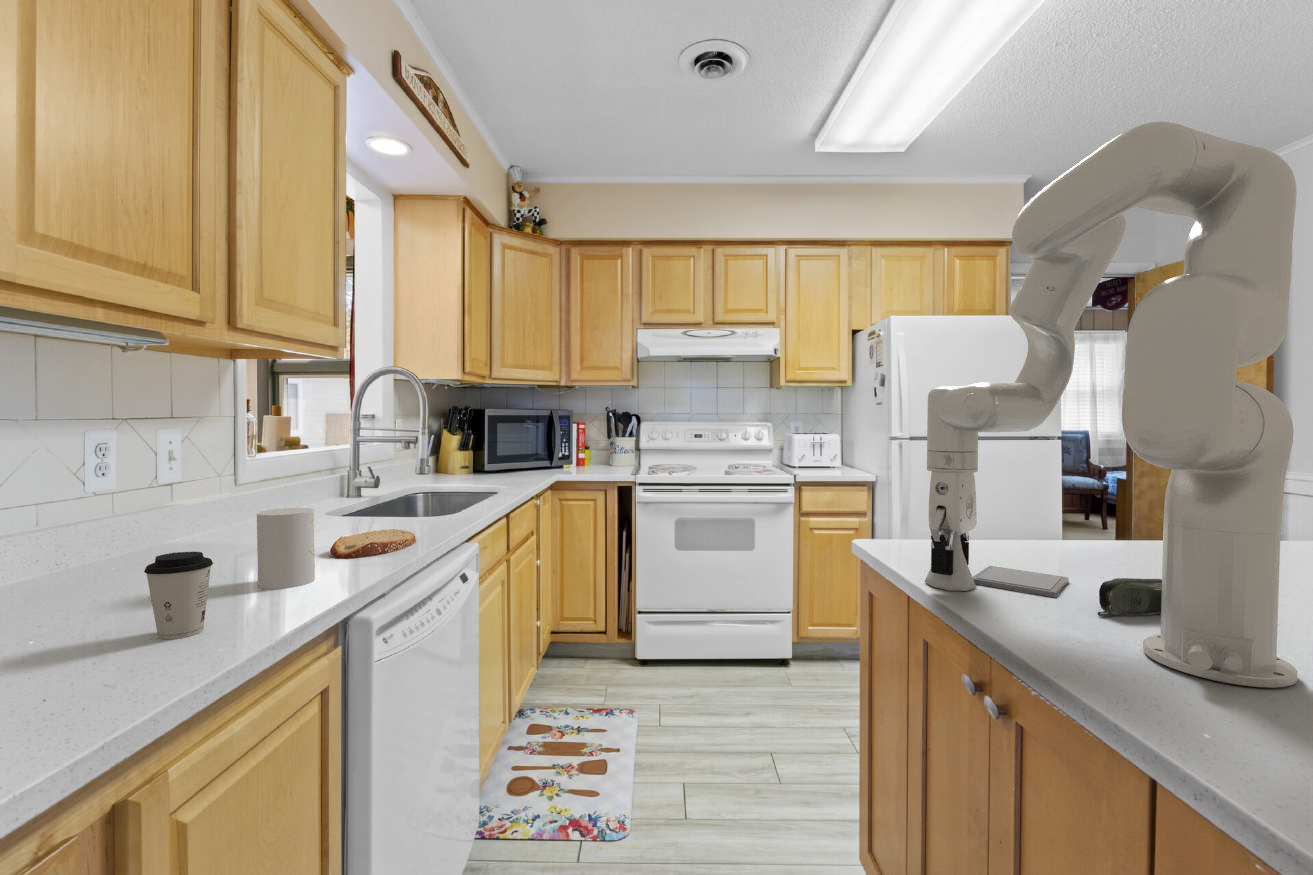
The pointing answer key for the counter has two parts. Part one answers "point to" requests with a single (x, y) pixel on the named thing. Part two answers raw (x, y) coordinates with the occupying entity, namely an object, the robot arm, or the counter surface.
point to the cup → (285, 548)
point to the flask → (954, 571)
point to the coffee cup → (179, 593)
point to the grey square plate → (1021, 581)
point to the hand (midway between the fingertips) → (950, 568)
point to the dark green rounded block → (1130, 597)
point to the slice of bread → (371, 543)
